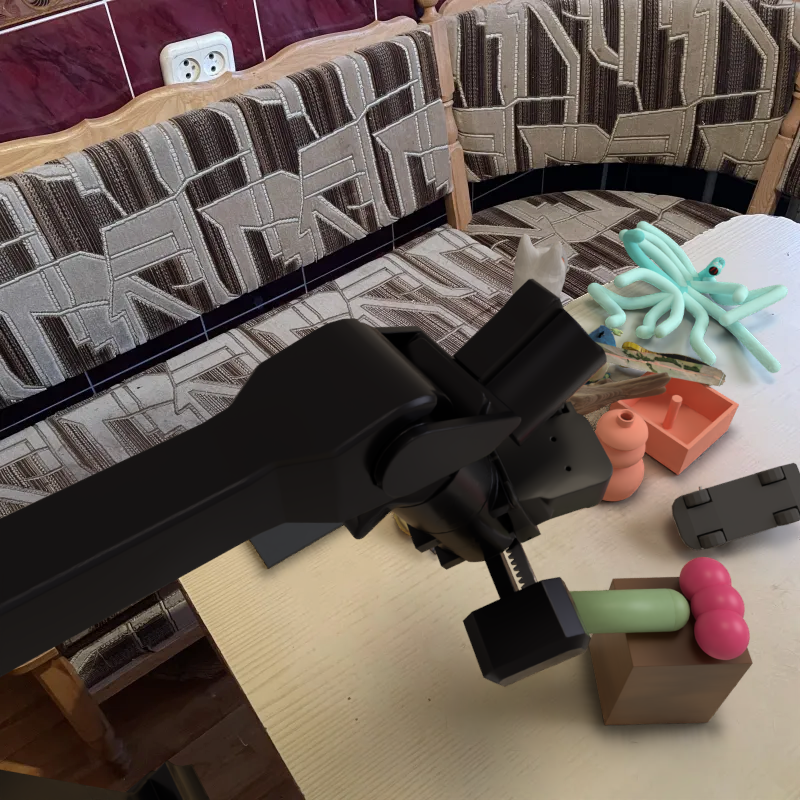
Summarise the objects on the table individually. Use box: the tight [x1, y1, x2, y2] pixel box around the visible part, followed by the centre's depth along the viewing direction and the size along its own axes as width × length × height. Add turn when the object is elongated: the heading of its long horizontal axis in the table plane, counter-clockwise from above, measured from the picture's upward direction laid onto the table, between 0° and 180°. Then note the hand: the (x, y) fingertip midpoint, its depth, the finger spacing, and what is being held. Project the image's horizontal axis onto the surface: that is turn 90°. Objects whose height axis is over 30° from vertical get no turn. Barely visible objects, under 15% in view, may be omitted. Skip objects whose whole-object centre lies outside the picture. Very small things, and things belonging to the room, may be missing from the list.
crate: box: [588, 576, 754, 726], centre depth 60 cm, size 8×7×12 cm
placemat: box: [248, 523, 344, 569], centre depth 76 cm, size 10×5×1 cm, turn 125°
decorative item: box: [618, 341, 712, 387], centre depth 86 cm, size 11×1×5 cm, turn 69°
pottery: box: [594, 371, 740, 502], centre depth 78 cm, size 18×10×10 cm, turn 131°
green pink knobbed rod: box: [569, 556, 751, 660], centre depth 55 cm, size 15×8×4 cm, turn 91°
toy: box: [511, 233, 571, 298], centre depth 85 cm, size 6×19×15 cm, turn 150°
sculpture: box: [567, 372, 671, 417], centre depth 80 cm, size 6×25×5 cm
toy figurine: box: [584, 324, 624, 385], centre depth 86 cm, size 12×4×8 cm, turn 131°
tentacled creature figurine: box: [587, 220, 789, 374], centre depth 93 cm, size 25×14×18 cm
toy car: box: [671, 462, 800, 551], centre depth 73 cm, size 6×13×5 cm
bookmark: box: [596, 342, 727, 387], centre depth 82 cm, size 3×21×1 cm, turn 81°
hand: (514, 552), depth 54 cm, fingers open, 9 cm apart
